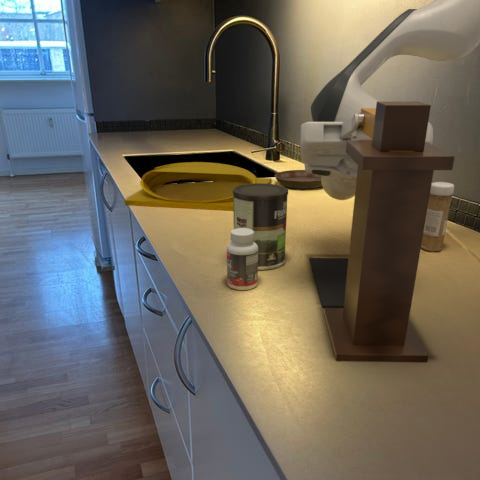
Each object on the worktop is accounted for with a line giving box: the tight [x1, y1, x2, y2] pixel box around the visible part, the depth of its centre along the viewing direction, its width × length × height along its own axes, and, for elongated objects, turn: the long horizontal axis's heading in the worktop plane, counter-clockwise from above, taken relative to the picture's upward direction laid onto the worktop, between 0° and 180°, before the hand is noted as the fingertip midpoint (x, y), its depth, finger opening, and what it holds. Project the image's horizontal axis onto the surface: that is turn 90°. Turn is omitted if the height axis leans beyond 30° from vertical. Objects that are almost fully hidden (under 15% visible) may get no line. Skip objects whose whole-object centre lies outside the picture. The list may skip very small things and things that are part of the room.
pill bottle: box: [226, 228, 259, 291], centre depth 88 cm, size 5×5×10 cm
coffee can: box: [232, 183, 289, 271], centre depth 97 cm, size 10×10×14 cm
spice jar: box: [421, 181, 455, 252], centre depth 104 cm, size 5×5×13 cm
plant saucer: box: [274, 169, 323, 190], centre depth 160 cm, size 18×18×3 cm
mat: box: [309, 257, 349, 309], centre depth 91 cm, size 12×22×1 cm, turn 178°
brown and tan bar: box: [360, 101, 432, 152], centre depth 67 cm, size 5×20×5 cm, turn 178°
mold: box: [124, 161, 272, 212], centre depth 149 cm, size 35×35×9 cm
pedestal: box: [323, 140, 456, 363], centre depth 68 cm, size 12×14×26 cm
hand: (375, 118), depth 73 cm, fingers closed on brown and tan bar, 3 cm apart
